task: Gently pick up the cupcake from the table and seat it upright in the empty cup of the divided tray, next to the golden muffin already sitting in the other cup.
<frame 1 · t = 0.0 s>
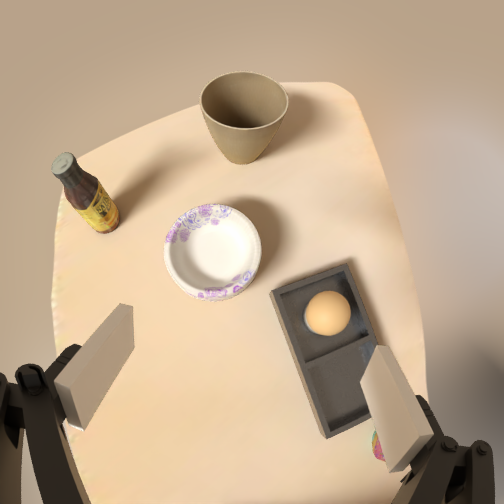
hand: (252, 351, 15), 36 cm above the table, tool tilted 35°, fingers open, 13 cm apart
cupcake: (383, 435, 45), on the table
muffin: (321, 316, 51), point 1 cm above the table, touching divided tray
divided tray: (333, 351, 50), on the table
paper bowls: (215, 262, 54), on the table
plant pot: (241, 151, 61), on the table
sauce bottle: (107, 219, 55), on the table
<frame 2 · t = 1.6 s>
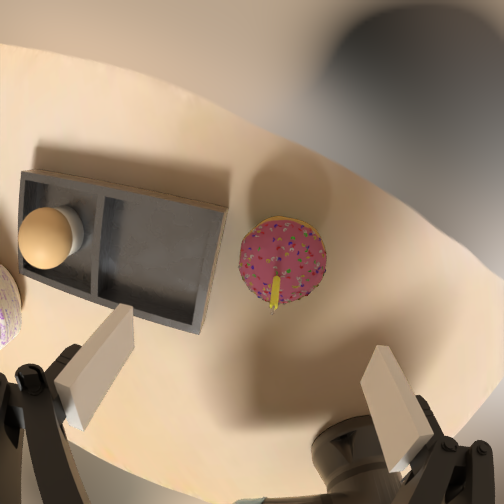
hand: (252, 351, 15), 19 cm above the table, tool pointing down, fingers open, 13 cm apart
cupcake: (280, 247, 34), on the table
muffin: (64, 230, 33), point 1 cm above the table, touching divided tray
divided tray: (110, 240, 34), on the table
paper bowls: (4, 289, 38), on the table
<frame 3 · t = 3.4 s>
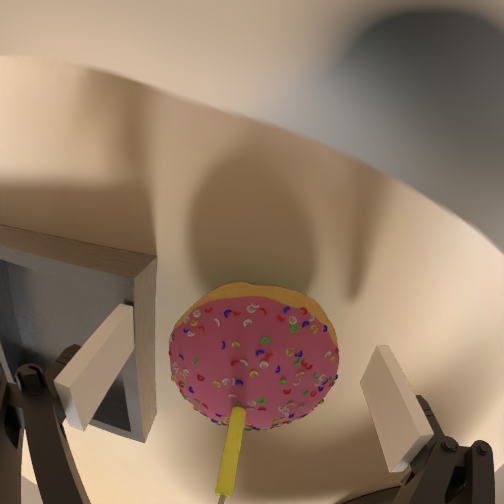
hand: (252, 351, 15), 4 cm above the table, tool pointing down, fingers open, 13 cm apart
cupcake: (256, 318, 19), on the table
divided tray: (16, 305, 20), on the table
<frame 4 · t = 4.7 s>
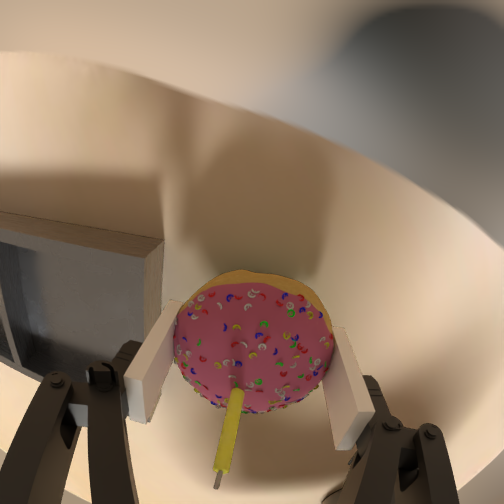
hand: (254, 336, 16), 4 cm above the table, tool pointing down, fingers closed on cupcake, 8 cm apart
cupcake: (256, 307, 20), on the table, touching gripper
divided tray: (25, 291, 21), on the table
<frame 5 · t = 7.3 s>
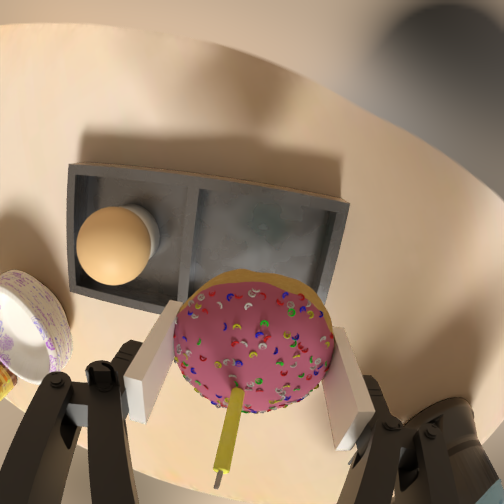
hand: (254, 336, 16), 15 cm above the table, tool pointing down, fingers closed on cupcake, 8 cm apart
cupcake: (256, 306, 20), point 11 cm above the table, touching gripper
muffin: (131, 234, 30), point 1 cm above the table, touching divided tray
divided tray: (194, 242, 31), on the table
paper bowls: (43, 311, 35), on the table
sauce bottle: (7, 369, 41), on the table
when the fingers open (4 cm above the table, at t = 9.5 s): cupcake stays where it is, resting on divided tray.
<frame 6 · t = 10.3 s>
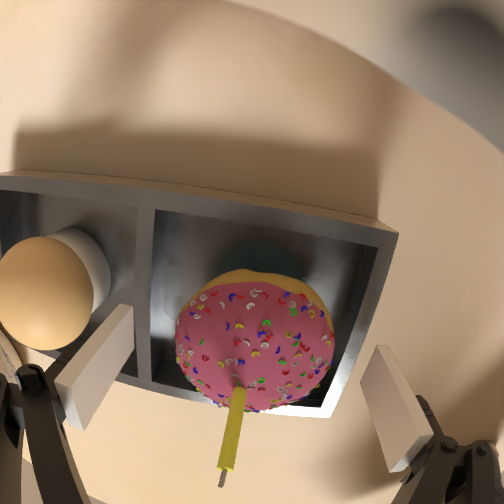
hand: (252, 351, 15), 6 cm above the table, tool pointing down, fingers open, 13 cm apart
cupcake: (256, 306, 20), point 1 cm above the table, touching divided tray
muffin: (75, 270, 20), point 1 cm above the table, touching divided tray
divided tray: (160, 284, 21), on the table
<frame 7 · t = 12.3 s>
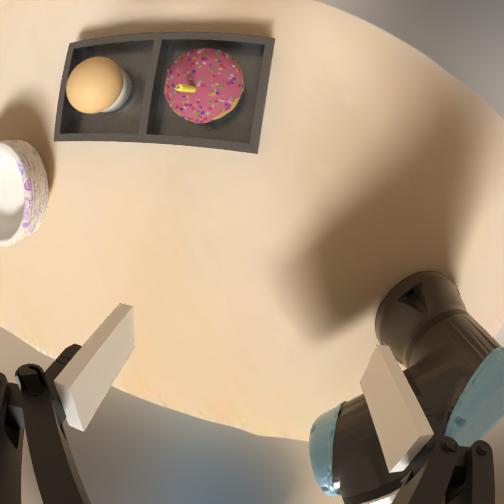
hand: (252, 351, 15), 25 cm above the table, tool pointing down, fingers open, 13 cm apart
cupcake: (210, 91, 33), point 1 cm above the table, touching divided tray
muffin: (110, 89, 32), point 1 cm above the table, touching divided tray
divided tray: (158, 89, 33), on the table
paper bowls: (28, 185, 37), on the table
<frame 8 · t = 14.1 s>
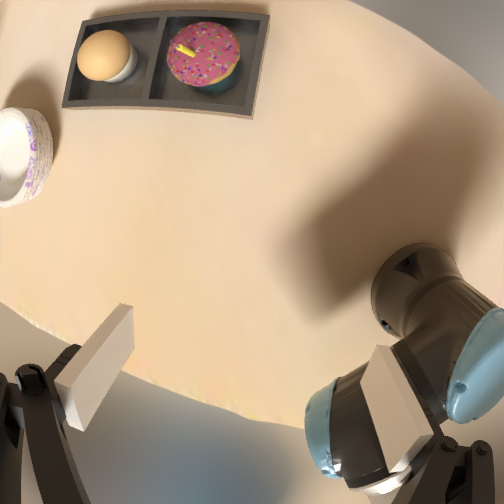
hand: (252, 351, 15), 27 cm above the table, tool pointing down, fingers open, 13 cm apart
cupcake: (209, 63, 33), point 1 cm above the table, touching divided tray
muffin: (117, 62, 33), point 1 cm above the table, touching divided tray
divided tray: (162, 62, 34), on the table
paper bowls: (33, 153, 38), on the table
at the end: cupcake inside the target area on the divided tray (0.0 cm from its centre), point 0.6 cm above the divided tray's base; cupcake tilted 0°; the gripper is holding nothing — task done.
